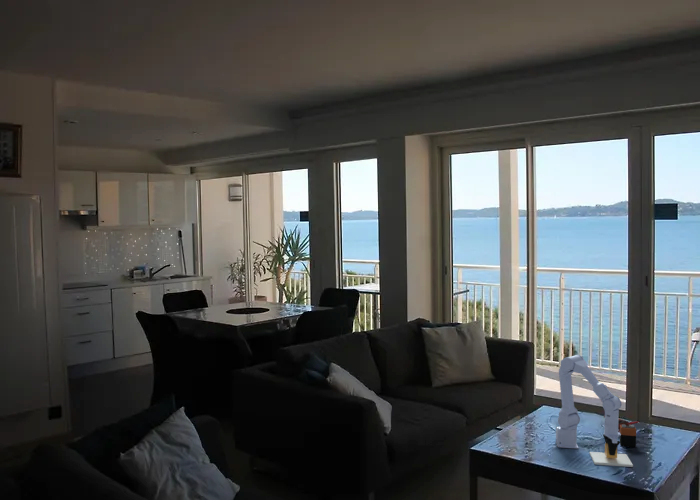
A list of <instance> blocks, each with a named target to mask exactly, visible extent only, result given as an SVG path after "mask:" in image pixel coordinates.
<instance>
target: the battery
mask: <svg viewBox="0 0 700 500" xmlns="http://www.w3.org/2000/svg"><path fill="white" fill-rule="evenodd" d="M619 433H620V434H621V436H619V442H620V443H619V445H620V447H627V448H628V447H629V448H636V447H637V428H636V426H635V424H632V425H629V426H626V425H620V432H619Z"/></svg>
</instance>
